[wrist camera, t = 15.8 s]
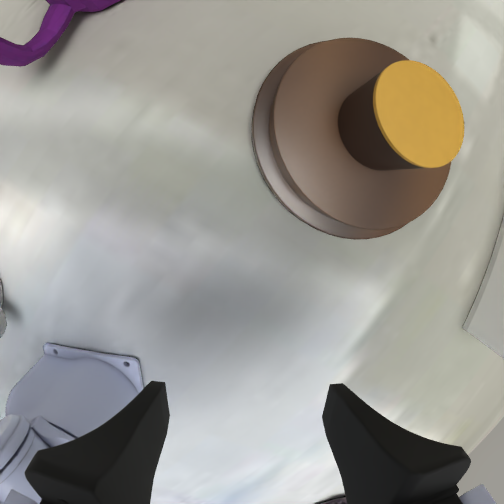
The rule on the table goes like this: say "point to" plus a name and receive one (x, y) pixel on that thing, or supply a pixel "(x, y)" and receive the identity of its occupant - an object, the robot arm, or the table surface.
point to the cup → (2, 314)
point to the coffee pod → (402, 119)
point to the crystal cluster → (337, 501)
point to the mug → (48, 31)
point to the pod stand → (332, 144)
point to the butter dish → (490, 302)
